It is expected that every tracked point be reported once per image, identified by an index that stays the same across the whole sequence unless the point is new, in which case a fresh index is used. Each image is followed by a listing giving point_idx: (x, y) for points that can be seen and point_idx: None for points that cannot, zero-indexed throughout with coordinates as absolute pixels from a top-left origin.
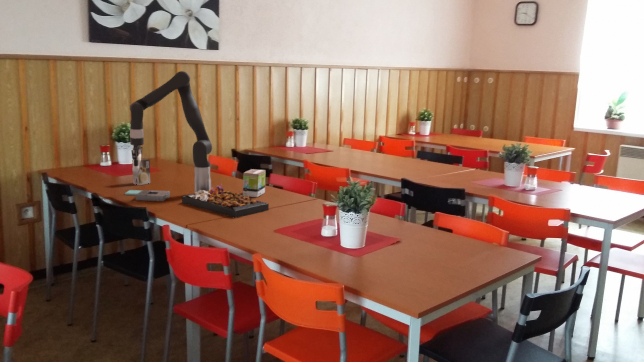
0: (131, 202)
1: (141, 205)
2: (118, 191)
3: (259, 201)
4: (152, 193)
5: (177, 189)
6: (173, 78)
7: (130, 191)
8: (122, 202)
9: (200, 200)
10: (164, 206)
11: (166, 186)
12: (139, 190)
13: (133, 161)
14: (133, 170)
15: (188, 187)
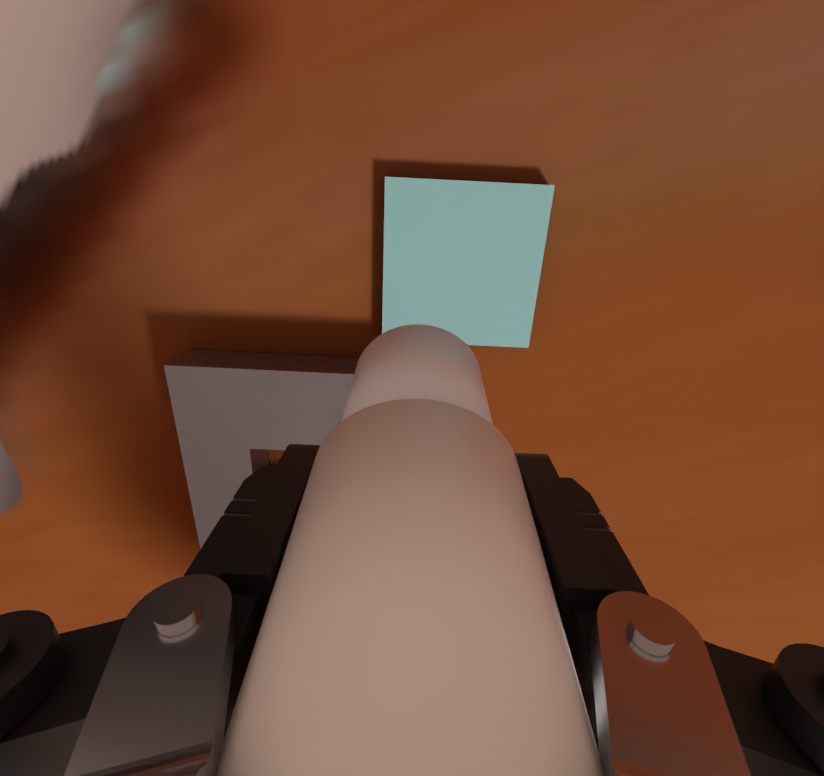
0: (102, 336)
1: (42, 434)
2: (566, 28)
3: None
4: None
5: (629, 556)
6: None
7: (480, 214)
8: (69, 256)
9: None
10: (83, 569)
11: (769, 465)
12: (533, 297)
13: (318, 486)
14: (359, 361)
15: (697, 607)
